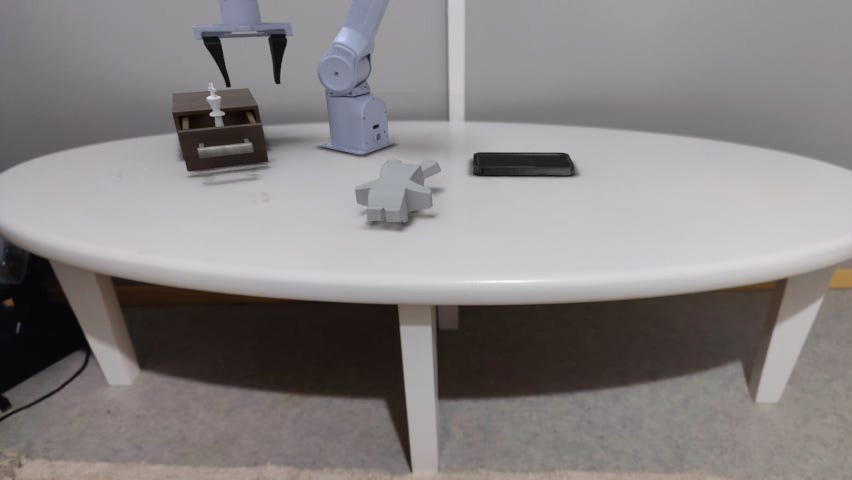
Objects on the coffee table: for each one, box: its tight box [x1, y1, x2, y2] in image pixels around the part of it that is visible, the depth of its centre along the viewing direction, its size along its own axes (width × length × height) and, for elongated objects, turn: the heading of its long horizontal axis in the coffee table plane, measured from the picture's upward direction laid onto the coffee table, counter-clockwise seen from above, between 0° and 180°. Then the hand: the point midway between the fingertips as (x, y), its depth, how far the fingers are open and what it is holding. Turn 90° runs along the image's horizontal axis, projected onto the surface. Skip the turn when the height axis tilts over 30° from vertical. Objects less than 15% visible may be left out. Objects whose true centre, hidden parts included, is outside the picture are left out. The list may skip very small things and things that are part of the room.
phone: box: [472, 151, 575, 176], centre depth 86 cm, size 8×1×15 cm
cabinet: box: [171, 87, 262, 159], centre depth 95 cm, size 15×12×7 cm
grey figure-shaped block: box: [354, 157, 442, 223], centre depth 71 cm, size 10×5×15 cm
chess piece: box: [206, 82, 225, 127], centre depth 84 cm, size 5×5×10 cm
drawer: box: [177, 110, 270, 173], centre depth 85 cm, size 19×11×6 cm, turn 25°
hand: (253, 84), depth 92 cm, fingers open, 7 cm apart
